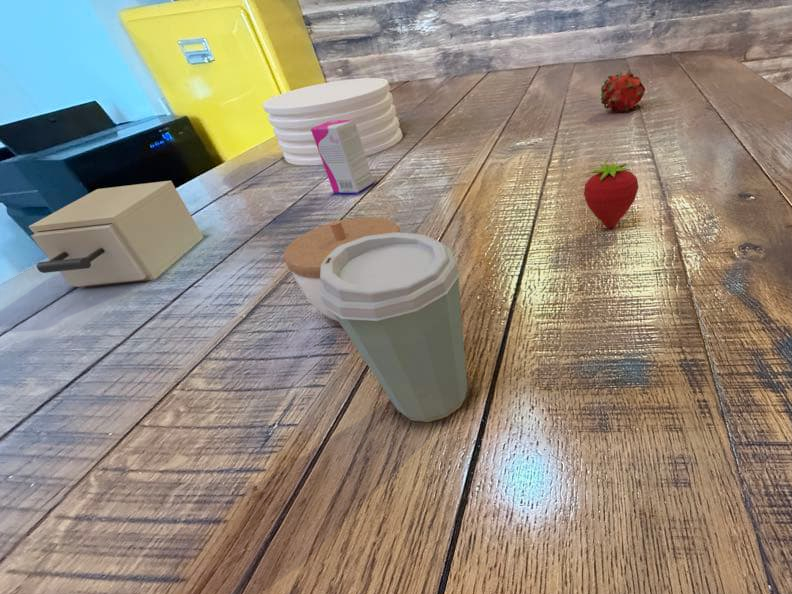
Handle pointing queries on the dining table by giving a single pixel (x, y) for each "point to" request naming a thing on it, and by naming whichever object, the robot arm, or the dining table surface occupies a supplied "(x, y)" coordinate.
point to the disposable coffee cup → (402, 318)
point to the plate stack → (333, 116)
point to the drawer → (88, 255)
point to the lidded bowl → (327, 251)
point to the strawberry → (611, 193)
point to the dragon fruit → (622, 92)
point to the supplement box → (343, 157)
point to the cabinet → (135, 222)
